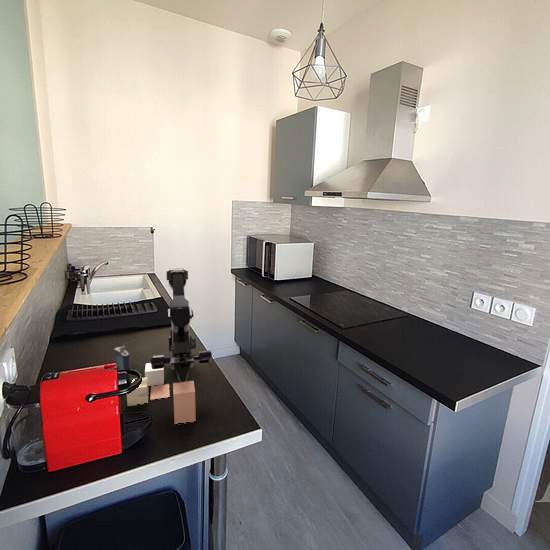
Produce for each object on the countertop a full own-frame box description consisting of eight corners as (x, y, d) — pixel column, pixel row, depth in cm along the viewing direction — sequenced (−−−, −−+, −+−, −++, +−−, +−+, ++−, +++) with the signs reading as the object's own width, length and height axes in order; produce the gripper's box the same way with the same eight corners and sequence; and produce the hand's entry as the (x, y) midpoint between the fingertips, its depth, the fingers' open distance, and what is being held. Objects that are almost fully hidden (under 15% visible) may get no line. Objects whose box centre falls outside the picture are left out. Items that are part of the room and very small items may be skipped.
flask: (114, 369, 125) (112, 343, 123) (122, 367, 128) (120, 341, 125) (125, 379, 120) (123, 352, 117) (133, 376, 122) (131, 349, 119)
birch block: (129, 395, 110) (128, 379, 109) (148, 393, 112) (147, 377, 110) (127, 406, 104) (126, 389, 103) (147, 403, 106) (146, 386, 105)
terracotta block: (174, 412, 102) (173, 383, 100) (194, 409, 104) (193, 380, 102) (174, 424, 96) (173, 394, 94) (195, 421, 98) (195, 391, 96)
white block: (146, 378, 121) (145, 363, 119) (164, 376, 122) (163, 361, 121) (145, 387, 115) (144, 371, 114) (163, 385, 117) (163, 369, 116)
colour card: (151, 387, 115) (151, 386, 115) (169, 384, 117) (169, 383, 117) (150, 400, 108) (150, 399, 108) (169, 397, 110) (169, 396, 109)
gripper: (149, 332, 101) (149, 384, 94) (211, 327, 107) (215, 375, 100) (152, 345, 111) (152, 392, 103) (208, 339, 116) (212, 384, 109)
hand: (183, 386), depth 103 cm, fingers closed
